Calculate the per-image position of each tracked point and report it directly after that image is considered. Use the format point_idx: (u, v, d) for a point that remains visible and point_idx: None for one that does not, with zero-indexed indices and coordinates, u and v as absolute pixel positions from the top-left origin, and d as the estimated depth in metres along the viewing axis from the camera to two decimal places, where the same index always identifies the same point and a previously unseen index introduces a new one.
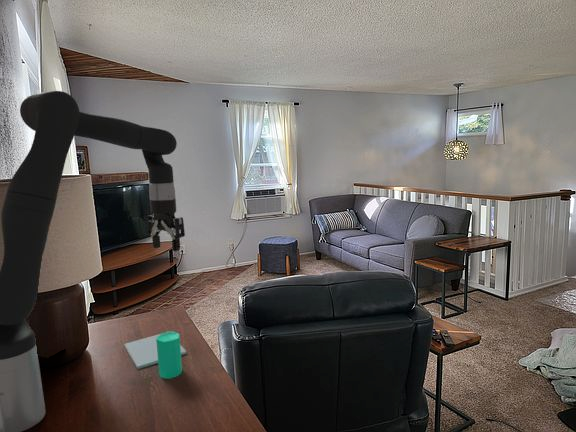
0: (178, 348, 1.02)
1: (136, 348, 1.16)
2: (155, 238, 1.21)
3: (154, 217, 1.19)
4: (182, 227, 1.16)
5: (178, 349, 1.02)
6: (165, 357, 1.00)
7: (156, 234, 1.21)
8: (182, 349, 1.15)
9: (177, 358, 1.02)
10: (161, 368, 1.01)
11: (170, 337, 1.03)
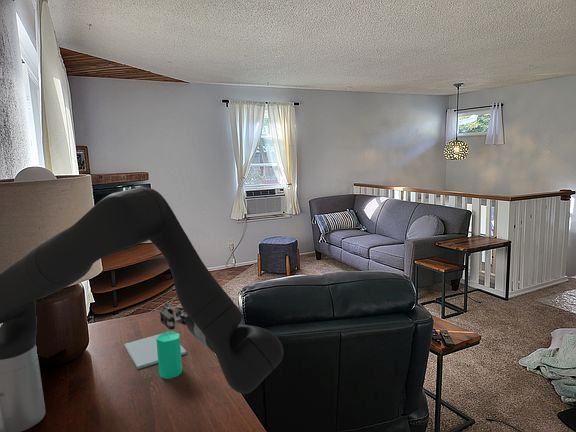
0: (178, 348, 1.02)
1: (136, 348, 1.16)
2: None
3: None
4: (164, 322, 0.81)
5: (178, 349, 1.02)
6: (165, 357, 1.00)
7: None
8: (182, 349, 1.15)
9: (177, 358, 1.02)
10: (161, 368, 1.01)
11: (171, 337, 1.03)
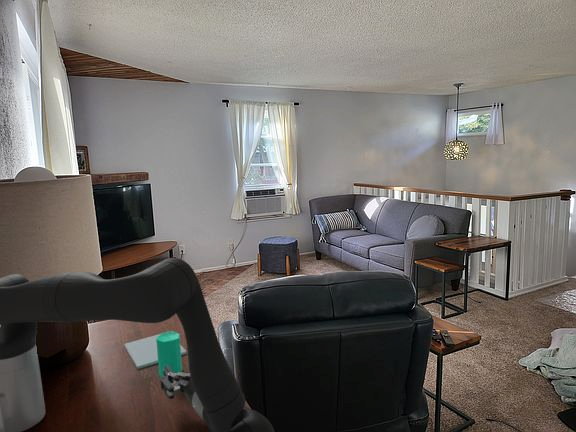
0: (178, 348, 1.02)
1: (136, 348, 1.16)
2: None
3: None
4: (164, 390, 0.86)
5: (178, 349, 1.02)
6: (165, 357, 1.00)
7: None
8: (182, 349, 1.15)
9: (177, 358, 1.02)
10: (161, 368, 1.01)
11: (171, 337, 1.03)
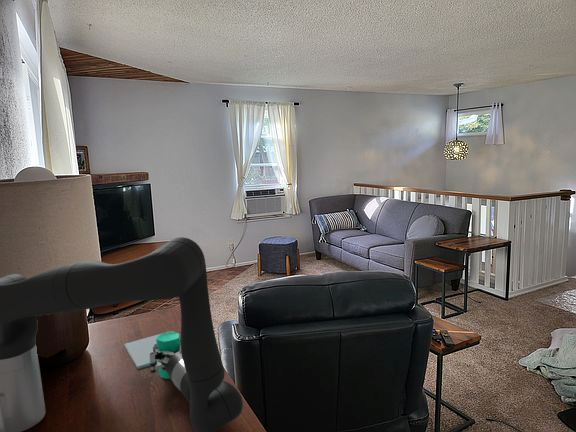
0: (178, 348, 1.02)
1: (136, 348, 1.16)
2: None
3: None
4: None
5: (178, 349, 1.02)
6: None
7: None
8: None
9: None
10: (161, 368, 1.01)
11: (170, 336, 1.03)
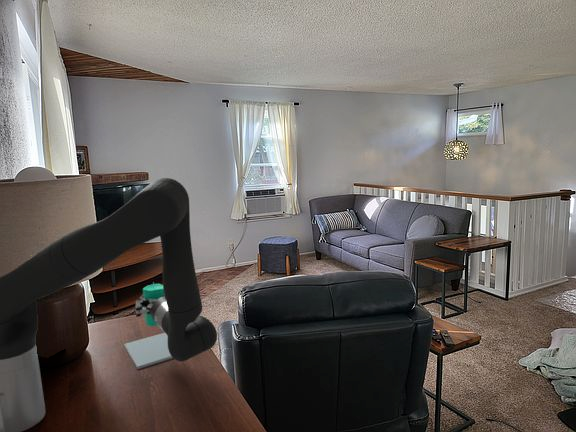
0: None
1: (136, 348, 1.16)
2: None
3: None
4: None
5: None
6: None
7: None
8: None
9: None
10: (147, 316, 1.08)
11: (156, 287, 1.10)
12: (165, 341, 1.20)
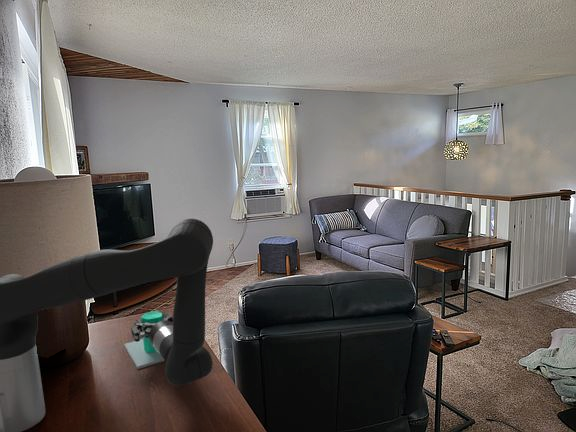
0: None
1: (136, 348, 1.16)
2: (165, 317, 1.16)
3: None
4: (133, 335, 1.07)
5: None
6: None
7: None
8: None
9: None
10: (145, 343, 1.13)
11: (154, 315, 1.15)
12: None
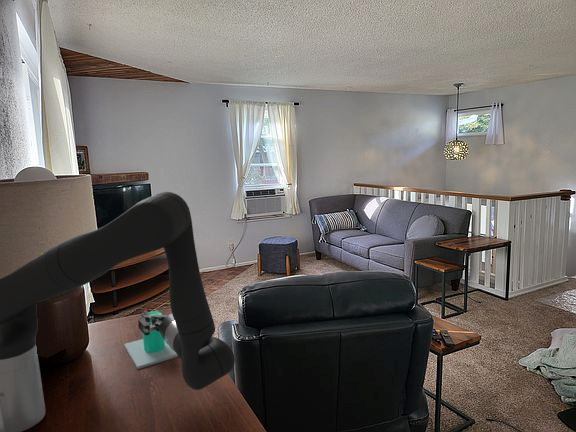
0: None
1: (136, 348, 1.16)
2: None
3: None
4: (141, 328, 0.95)
5: None
6: None
7: None
8: None
9: (159, 334, 1.14)
10: (145, 343, 1.13)
11: None
12: (165, 341, 1.20)
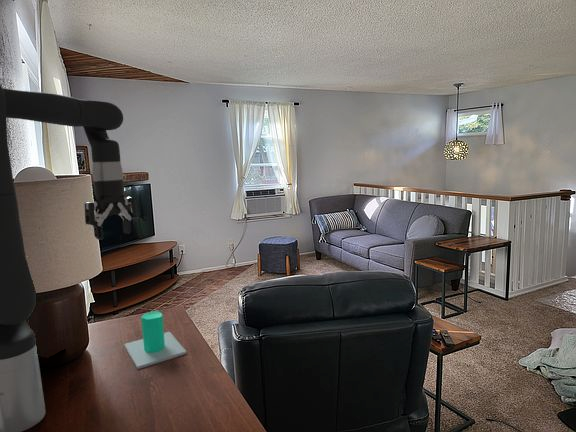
0: (161, 325, 1.14)
1: (136, 348, 1.16)
2: (123, 222, 1.11)
3: None
4: (88, 213, 1.01)
5: (161, 327, 1.14)
6: (148, 333, 1.12)
7: (125, 218, 1.11)
8: (182, 349, 1.15)
9: (159, 334, 1.14)
10: (145, 343, 1.13)
11: (154, 315, 1.15)
12: (165, 341, 1.20)
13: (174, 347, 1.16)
